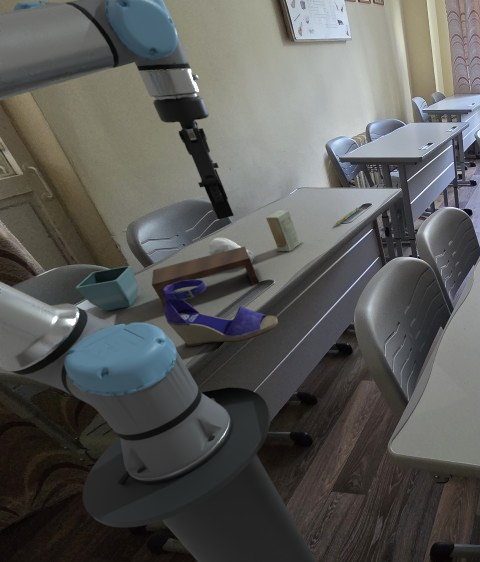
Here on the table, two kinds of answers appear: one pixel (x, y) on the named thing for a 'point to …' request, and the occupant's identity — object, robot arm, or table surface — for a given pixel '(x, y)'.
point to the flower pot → (110, 288)
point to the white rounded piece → (225, 247)
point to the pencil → (347, 216)
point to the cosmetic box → (283, 230)
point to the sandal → (210, 318)
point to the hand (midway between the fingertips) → (223, 208)
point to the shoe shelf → (202, 269)
